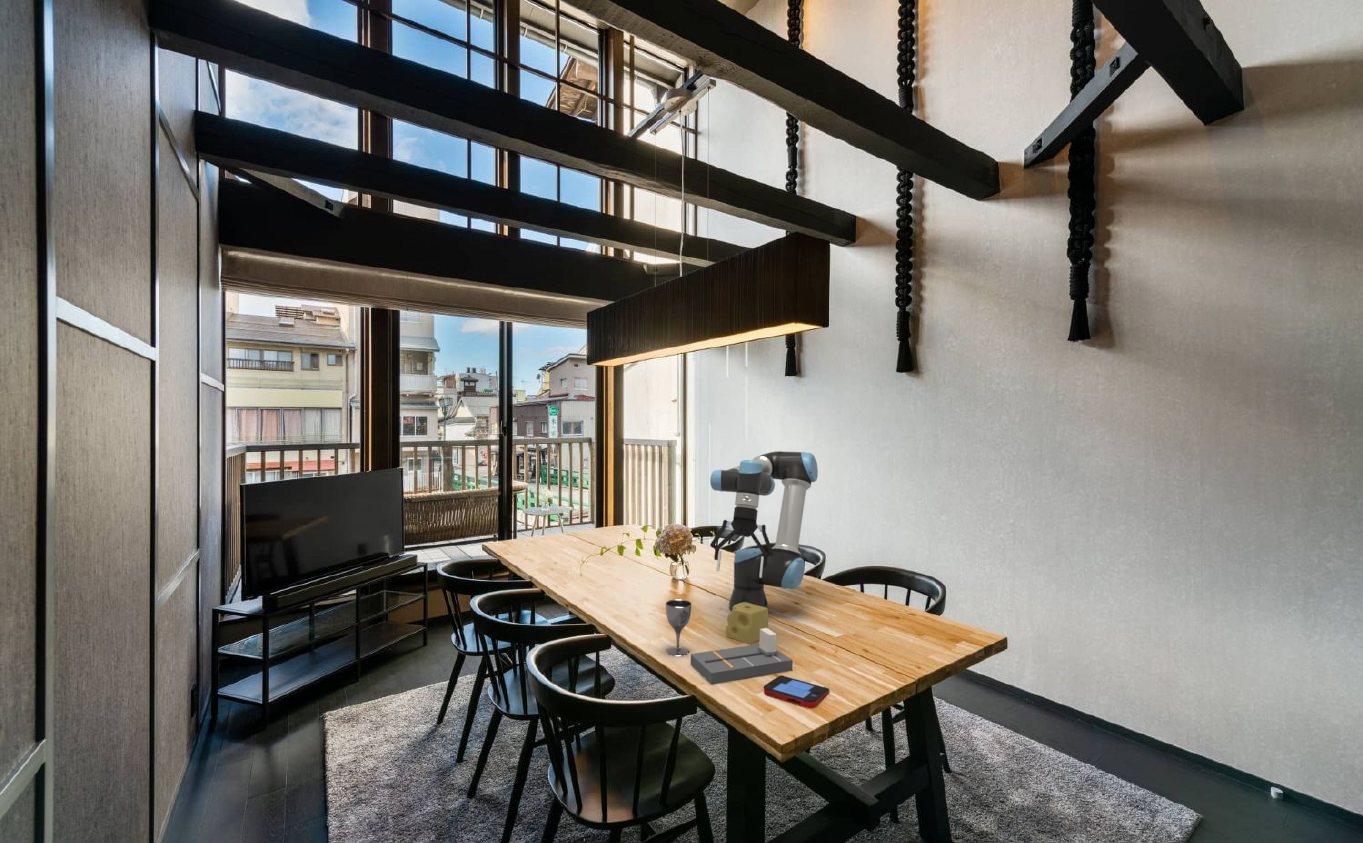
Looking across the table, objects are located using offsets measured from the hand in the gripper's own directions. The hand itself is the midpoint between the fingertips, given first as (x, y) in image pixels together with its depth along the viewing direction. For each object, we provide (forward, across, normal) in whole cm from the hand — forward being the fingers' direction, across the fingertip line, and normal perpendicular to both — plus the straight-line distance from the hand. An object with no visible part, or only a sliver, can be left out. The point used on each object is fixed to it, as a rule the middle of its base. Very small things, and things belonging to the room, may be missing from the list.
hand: (738, 574), depth 177 cm
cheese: (+20, +5, +16) cm, 26 cm away
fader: (+21, +11, -5) cm, 24 cm away
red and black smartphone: (+28, +19, -21) cm, 40 cm away
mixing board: (+26, +4, -9) cm, 27 cm away
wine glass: (+26, -16, -1) cm, 31 cm away
